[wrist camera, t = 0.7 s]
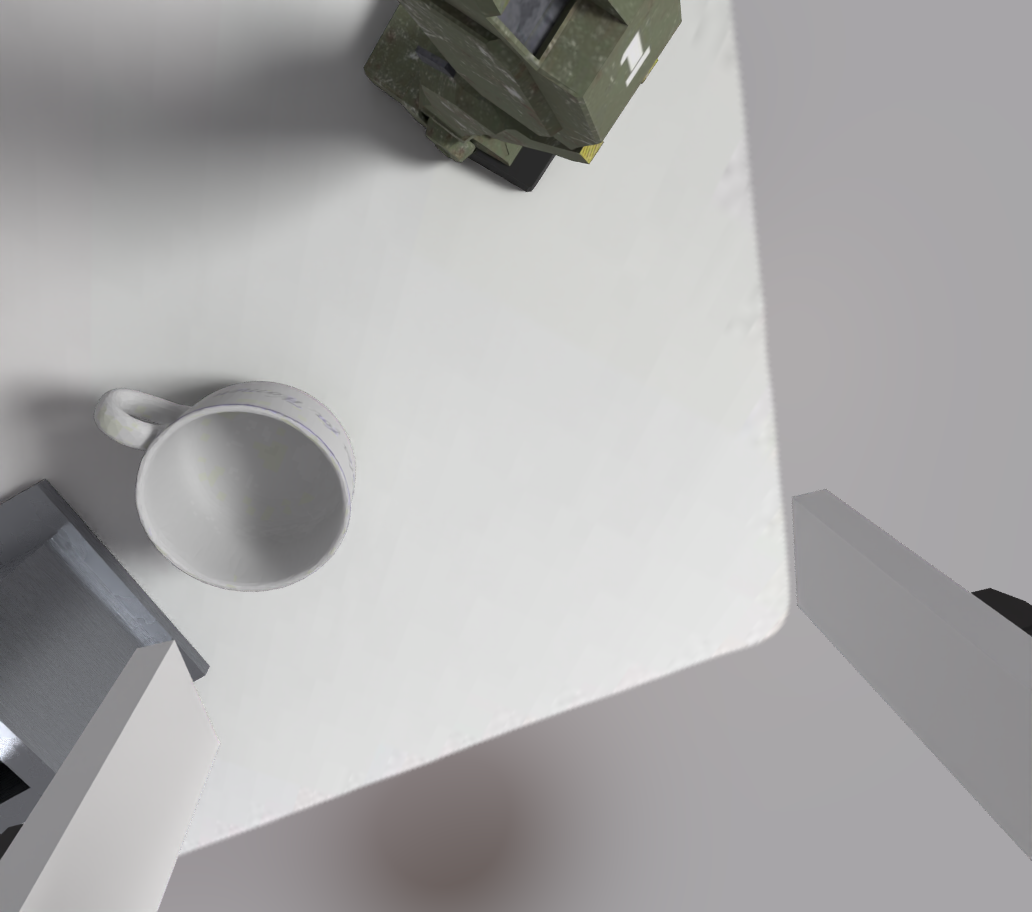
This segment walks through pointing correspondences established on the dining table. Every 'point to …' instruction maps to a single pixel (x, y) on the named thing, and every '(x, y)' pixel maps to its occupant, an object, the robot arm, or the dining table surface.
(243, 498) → the teacup
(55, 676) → the stand
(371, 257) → the dining table surface
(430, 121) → the mechanical leg
